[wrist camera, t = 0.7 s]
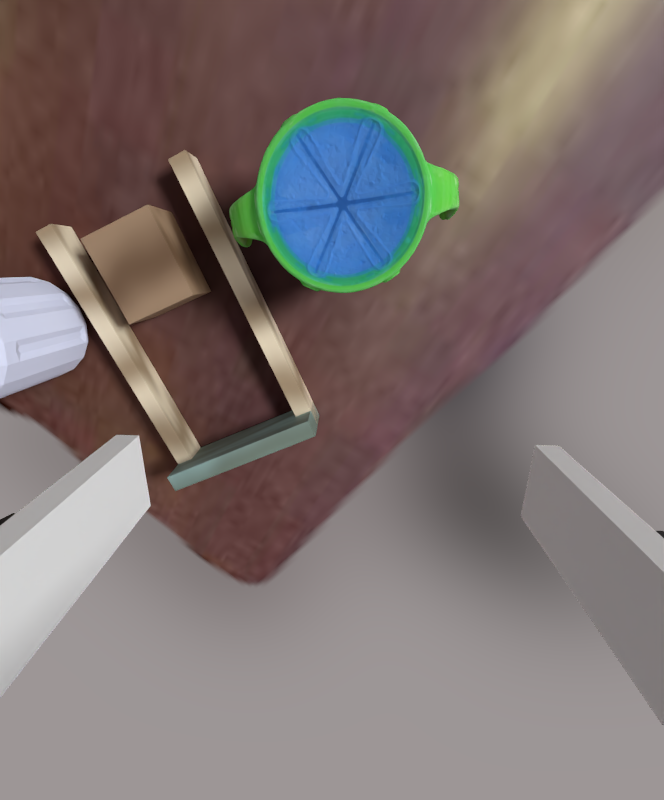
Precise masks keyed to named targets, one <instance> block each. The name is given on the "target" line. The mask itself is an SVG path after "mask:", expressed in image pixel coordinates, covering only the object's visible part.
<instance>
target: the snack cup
mask: <svg viewBox="0 0 664 800" xmlns="http://www.w3.org/2000/svg"><path fill="white" fill-rule="evenodd" d="M458 186H459V183H458V178H457V176H456V175H455V174H454V173H452V172H449V171H448V170H445V169H443V168H441V167H437V166H434V165H432V164H430V163H427V162H426V160H425V159H424V156H423V153H422V151H421V149H420V147H419V145H418V143H417V141H416V140H415V138H414V137H413V135H412V133H411V132H410V131H409V130H408V128H407V127H406V126H405V125H404V124H403V123H402V122H401V121H400V120H399V119H398V118H397V117H395V116H394V115H392V114H391V113H389V112H388V110H387V109H386V108H385V107H382V106H381V105H378V104H375V103H370V102H366V101H362V100H358V99H350V98H335V99H330V100H325V101H322V102H319V103H316V104H314V105H311V106H309V107H307V108H305V109H303V110H302V111H300V112H299V113H297V114H296V115H292V116H291V117H290V118H288V119H287V120H286V121H284V122H283V124H282V125H281V128H280V130H279V131H278V132H277V133H276V135H275V136H274V137H273V139H272V141H271V142H270V144H269V146H268V147H267V149H266V152H265V154H264V157H263V159H262V162H261V165H260V169H259V173H258V178H257V184H256V186H255V187H254V188H253V189H252V190H251V191H249V192H248V193H246V194H244V195H243V196H242V197H240V198H239V199H238V200H237V201H235V202H234V203H233V204H232V206H231V207H230V210H229V214H230V219H231V225H232V231H233V235H234V238H235V240H236V241H237V242H238V243H239V244H240V245H241V246H244V247H250V245H251V244H252V240H253V239H255V240H259V241H262V242H264V243H266V244H267V245H268V247H269V249H270V250H271V252H272V253H273V255H274V256H275V258H276V259H277V260H278V261H279V263H280V264H281V265H282V266H283V267H284V268H285V269H286V270H287V271H288V272H289V273H290V274H291V275H293V276H294V277H295V278H297V279H298V280H300V282H301V283H302V285H303V286H305V287H307V288H310V289H312V290H315V291H320V290H324V291H329V292H336V293H350V292H357V291H361V290H364V289H368V288H371V287H373V286H375V285H377V284H379V283H381V282H387V281H389V280H391V279H392V278H393V277H394V276H396V275H397V274H399V272H400V269H401V267H402V266H403V265H404V264H405V263H406V262H407V261H408V260H409V258H410V257H411V255H412V254H413V253H414V251H415V249H416V248H417V246H418V244H419V242H420V240H421V238H422V236H423V233H424V230H425V227H426V224H427V222H428V221H429V220H430V219H431V218H433V217H434V216H436V215H439V216H440V218H441V219H442V220H445V219H447V220H448V219H450V218H451V217H452V216H453V215H454V214H455V212H456V211H457V210H458V207H459V197H458V196H459V192H458Z"/></svg>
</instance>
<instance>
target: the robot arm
mask: <svg viewBox="0 0 664 800" xmlns="http://www.w3.org/2000/svg"><path fill="white" fill-rule="evenodd" d="M150 506H151V505H150V499H149V493H148V487H147V481H146V475H145V469H144V463H143V457H142V451H141V445H140V439H139V435H116V436H114V437H113V438H112V439H111V440H109V441H108V442H107V443H105V444H104V445H103V446H102V447H100V448H99V449H98V450H96V451H95V452H94V453H93V454H91V455H90V456H89V457H87V458H86V459H85V460H84V461H82V462H81V463H80V464H78V465H77V466H76V467H75V468H73V469H72V470H71V471H70V472H68V473H67V474H66V475H64V476H63V477H62V478H61V479H60V480H58V481H57V482H55V483H54V484H53V485H52V486H50V487H49V488H48V489H46V490H45V491H44V492H43V493H41V494H40V495H39V496H38V497H36V498H35V499H34V500H32V501H31V502H30V503H29V504H27V505H26V506H25V507H23V508H22V509H21V510H19V511H18V512H17V513H13V514H11V515H9V516H7V517H5V518H3V519H1V520H0V698H1V696H2V695H3V694H4V692H5V691H6V690H7V689H8V687H9V686H10V685H11V683H12V682H13V681H14V679H15V678H16V677H17V676H18V675H19V673H20V672H21V671H22V669H23V668H24V667H25V666H26V664H27V663H28V662H29V660H30V659H31V658H32V657H33V655H34V654H35V653H36V652H37V650H38V649H39V648H40V646H41V645H42V644H43V643H44V641H45V640H46V639H47V637H48V636H49V635H50V633H51V632H52V631H53V630H54V628H55V627H56V626H57V625H58V623H59V622H60V621H61V620H62V618H63V617H64V616H65V614H66V613H67V612H68V611H69V609H70V608H71V607H72V605H73V604H74V603H75V602H76V600H77V599H78V598H79V596H80V595H81V594H82V593H83V591H84V590H85V589H86V587H87V586H88V585H89V584H90V582H91V581H92V580H93V579H94V577H95V576H96V575H97V573H98V572H99V571H100V570H101V568H102V567H103V566H104V564H105V563H106V562H107V561H108V559H109V558H110V557H111V556H112V554H113V553H114V552H115V550H116V549H117V548H118V547H119V545H120V544H121V543H122V541H123V540H124V539H125V537H126V536H127V535H128V534H129V533H130V531H131V530H132V529H133V527H134V526H135V525H136V523H137V522H138V521H139V520H140V518H141V517H142V516H143V515H144V513H145V512H146V511H147V509H148V508H149V507H150ZM521 517H522V519H523V520H524V522H525V523H526V525H527V526H528V528H529V529H530V531H531V532H532V534H533V535H534V537H535V538H536V539H537V541H538V542H539V544H540V545H541V547H542V548H543V550H544V551H545V553H546V554H547V556H548V557H549V558H550V560H551V562H552V563H553V565H554V566H555V567H556V569H557V570H558V572H559V573H560V575H561V576H562V577H563V579H564V581H565V582H566V583H567V585H568V587H569V588H570V589H571V591H572V592H573V594H574V595H575V597H576V598H577V600H578V601H579V603H580V604H581V606H582V607H583V609H584V610H585V612H586V613H587V615H588V616H589V617H590V619H591V621H592V622H593V623H594V625H595V626H596V628H597V629H598V631H599V632H600V634H601V635H602V637H603V638H604V640H605V641H606V643H607V644H608V646H609V647H610V649H611V650H612V651H613V653H614V654H615V656H616V657H617V659H618V660H619V662H620V663H621V665H622V666H623V668H624V669H625V671H626V672H627V674H628V675H629V676H630V678H631V680H632V681H633V682H634V684H635V685H636V687H637V688H638V690H639V691H640V693H641V694H642V696H643V697H644V698H645V700H646V701H647V703H648V705H649V706H650V708H651V709H652V710H653V712H654V713H655V715H656V716H657V718H658V719H659V721H660V722H661V724H662V725H664V532H663V531H655V530H654V529H653V528H652V527H651V526H649V525H648V524H647V523H646V522H645V521H644V520H643V519H641V518H640V517H639V516H638V515H637V514H635V512H633V511H632V510H631V509H630V508H629V507H628V506H626V504H624V503H623V502H622V501H621V500H620V499H619V498H618V497H616V496H615V495H614V494H613V493H612V492H611V491H610V490H609V489H607V488H606V487H605V486H604V485H603V484H602V483H601V482H599V481H598V480H597V479H596V478H595V477H594V476H593V475H592V474H590V473H589V472H588V471H587V470H586V469H585V468H584V467H582V466H581V465H580V464H579V463H578V462H577V461H576V460H575V459H573V458H572V457H571V456H570V455H569V454H568V453H566V452H565V451H564V450H563V449H562V448H561V447H560V446H552V445H535V448H534V453H533V458H532V463H531V468H530V473H529V478H528V483H527V487H526V492H525V497H524V503H523V507H522V512H521Z"/></svg>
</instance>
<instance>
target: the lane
mask: <svg viewBox="0 0 664 800" xmlns="http://www.w3.org/2000/svg"><path fill="white" fill-rule="evenodd" d="M168 160H169V162H170V164H171V166H172V168H173V170H174V172H175V174H176V176H177V178H178V181H179V183H180V185H181V187H182V189H183V191H184V193H185V195H186V197H187V199H188V201H189V203H190V205H191V207H192V209H193V211H194V213H195V215H196V217H197V219H198V221H199V223H200V225H201V227H202V229H203V231H204V233H205V235H206V237H207V239H208V241H209V243H210V245H211V247H212V249H213V251H214V253H215V255H216V257H217V259H218V261H219V263H220V265H221V267H222V269H223V271H224V273H225V275H226V277H227V279H228V281H229V283H230V285H231V287H232V289H233V291H234V293H235V295H236V297H237V299H238V301H239V304H240V306H241V308H242V310H243V312H244V314H245V316H246V318H247V320H248V322H249V324H250V326H251V328H252V330H253V332H254V334H255V336H256V338H257V340H258V342H259V344H260V346H261V348H262V350H263V352H264V354H265V356H266V358H267V360H268V362H269V364H270V366H271V368H272V370H273V372H274V374H275V376H276V378H277V380H278V382H279V384H280V386H281V388H282V390H283V392H284V394H285V396H286V398H287V400H288V402H289V404H290V406H291V408H292V411H289V412H287V413H285V414H282V415H280V416H277V417H275V418H272V419H270V420H267V421H265V422H262V423H260V424H258V425H255V426H253V427H250V428H248V429H245V430H243V431H240V432H238V433H235V434H233V435H231V436H228V437H226V438H223V439H221V440H218V441H216V442H213V443H211V444H208V445H206V446H204V447H200V445H199V444H198V442H197V440H196V439H195V437H194V435H193V433H192V432H191V430H190V428H189V427H188V425H187V423H186V421H185V420H184V418H183V416H182V415H181V413H180V411H179V410H178V408H177V406H176V404H175V403H174V401H173V399H172V398H171V396H170V394H169V392H168V391H167V389H166V387H165V386H164V384H163V382H162V381H161V379H160V377H159V375H158V374H157V372H156V370H155V369H154V367H153V365H152V364H151V362H150V360H149V358H148V357H147V355H146V353H145V352H144V350H143V348H142V346H141V345H140V343H139V341H138V340H137V338H136V336H135V335H134V333H133V331H132V329H131V328H130V326H129V324H128V323H127V321H126V319H125V318H124V316H123V314H122V312H121V311H120V309H119V307H118V306H117V304H116V302H115V300H114V299H113V297H112V295H111V294H110V292H109V290H108V289H107V287H106V285H105V283H104V282H103V280H102V278H101V277H100V275H99V273H98V272H97V270H96V268H95V266H94V265H93V263H92V261H91V260H90V258H89V256H88V254H87V253H86V251H85V249H84V248H83V246H82V244H81V243H80V241H79V239H78V237H77V236H76V234H75V232H74V231H73V229H72V227H69V226H62V225H55V224H50V225H48V226H46V227H44V228H42V229H40V230H39V231H37V232H36V233H37V235H38V237H39V238H40V240H41V242H42V243H43V245H44V246H45V248H46V250H47V251H48V253H49V255H50V256H51V258H52V259H53V261H54V263H55V264H56V266H57V268H58V269H59V271H60V273H61V274H62V276H63V277H64V279H65V281H66V282H67V284H68V286H69V287H70V289H71V290H72V292H73V294H74V295H75V297H76V299H77V300H78V302H79V303H80V305H81V307H82V308H83V310H84V312H85V313H86V315H87V316H88V318H89V320H90V321H91V323H92V325H93V326H94V328H95V330H96V331H97V333H98V334H99V336H100V338H101V339H102V341H103V343H104V344H105V346H106V347H107V349H108V351H109V352H110V354H111V356H112V357H113V359H114V360H115V362H116V364H117V365H118V367H119V369H120V370H121V372H122V373H123V375H124V377H125V378H126V380H127V382H128V383H129V385H130V387H131V388H132V390H133V391H134V393H135V395H136V396H137V398H138V400H139V401H140V403H141V404H142V406H143V408H144V409H145V411H146V413H147V414H148V416H149V417H150V419H151V421H152V422H153V424H154V426H155V427H156V429H157V431H158V432H159V434H160V435H161V437H162V439H163V440H164V442H165V444H166V445H167V447H168V448H169V450H170V452H171V453H172V455H173V457H174V458H175V460H176V461H177V463H178V465H177V466H176V468H175V469H174V470H173V471H172V472H171V473H170V475H169V476H168V477H167V478H168V480H169V481H170V483H171V484H172V486H173V488H174V489H175V491H177V490H179V489H182V488H184V487H187V486H189V485H192V484H195V483H197V482H200V481H202V480H205V479H207V478H210V477H212V476H215V475H218V474H220V473H223V472H225V471H228V470H230V469H233V468H235V467H238V466H240V465H243V464H246V463H248V462H251V461H253V460H256V459H258V458H261V457H263V456H266V455H268V454H271V453H274V452H276V451H279V450H281V449H284V448H286V447H289V446H291V445H294V444H297V443H299V442H302V441H304V440H307V439H309V438H312V437H314V436H316V431H317V425H318V420H319V414H318V411H317V409H316V407H315V405H314V403H313V401H312V399H311V397H310V395H309V393H308V390H307V388H306V386H305V384H304V382H303V380H302V378H301V376H300V374H299V372H298V369H297V367H296V365H295V363H294V361H293V359H292V357H291V355H290V353H289V351H288V348H287V346H286V344H285V342H284V340H283V338H282V336H281V334H280V332H279V330H278V327H277V325H276V323H275V321H274V319H273V317H272V315H271V313H270V311H269V309H268V306H267V304H266V302H265V300H264V298H263V296H262V294H261V292H260V290H259V288H258V285H257V283H256V281H255V279H254V277H253V275H252V273H251V271H250V269H249V267H248V264H247V262H246V260H245V258H244V256H243V254H242V252H241V250H240V248H239V246H238V244H237V241H236V240H235V238H234V235H233V233H232V231H231V229H230V227H229V225H228V223H227V220H226V218H225V216H224V214H223V212H222V210H221V208H220V206H219V204H218V202H217V199H216V197H215V195H214V193H213V191H212V189H211V187H210V185H209V183H208V181H207V178H206V176H205V174H204V172H203V170H202V168H201V166H200V164H199V162H198V160H197V158H196V157H194V156H193V155H191V154H190V153H189V152H187V151H186V150H184V151H182V152H181V153H179V154H177V155H175V156H173V157H171V158H170V159H168Z"/></svg>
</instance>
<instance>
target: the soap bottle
mask: <svg viewBox="0 0 664 800" xmlns="http://www.w3.org/2000/svg"><path fill="white" fill-rule="evenodd" d="M87 344H88V333H87V324H86V322H85V320H84V318H83V315H82V313H81V311H80V309H79V307H78V306H77V305H76V304H75V302H74V301H73V300H72V299H71V298H70V297H69V295H68V294H67V293H65V292H64V291H62V290H61V289H59V288H58V287H56V286H55V285H53V284H52V283H50V282H47V281H44V280H40V279H37V278H33V277H14V278H0V398H3V397H5V396H8V395H10V394H13V393H16V392H18V391H21V390H24V389H26V388H29V387H31V386H34V385H37V384H39V383H42V382H45V381H47V380H50V379H53V378H55V377H58V376H60V375H63V374H65V373H67V372H69V371H71V370H73V369H74V368H75V367H76V366H77V365H78V363H79V362H80V361H81V360H82V359H83V357H84V355H85V352H86V348H87Z"/></svg>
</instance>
